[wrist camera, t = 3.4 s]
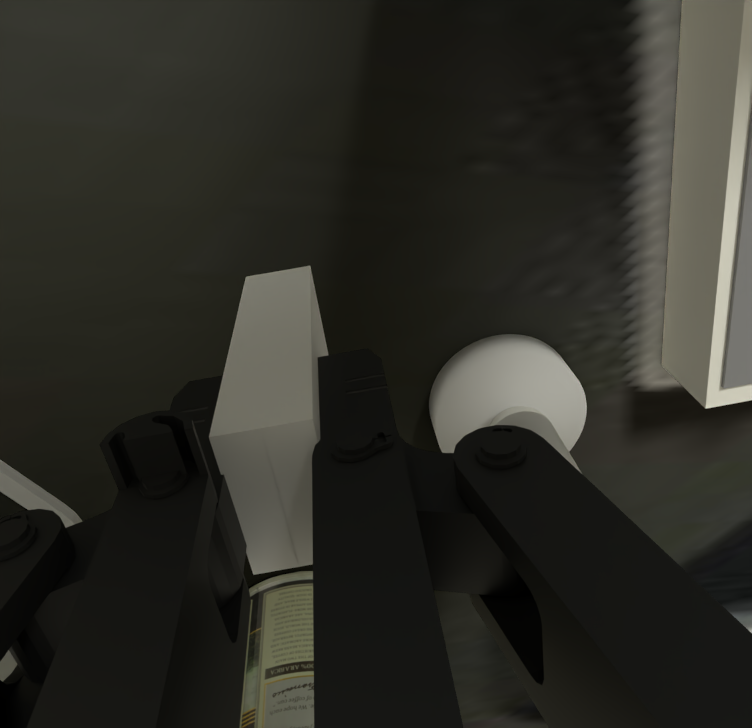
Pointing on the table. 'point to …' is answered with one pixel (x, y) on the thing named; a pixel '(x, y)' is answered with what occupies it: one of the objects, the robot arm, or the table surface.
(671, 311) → the breaker panel
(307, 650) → the coffee can
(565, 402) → the white peg stand
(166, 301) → the table surface
